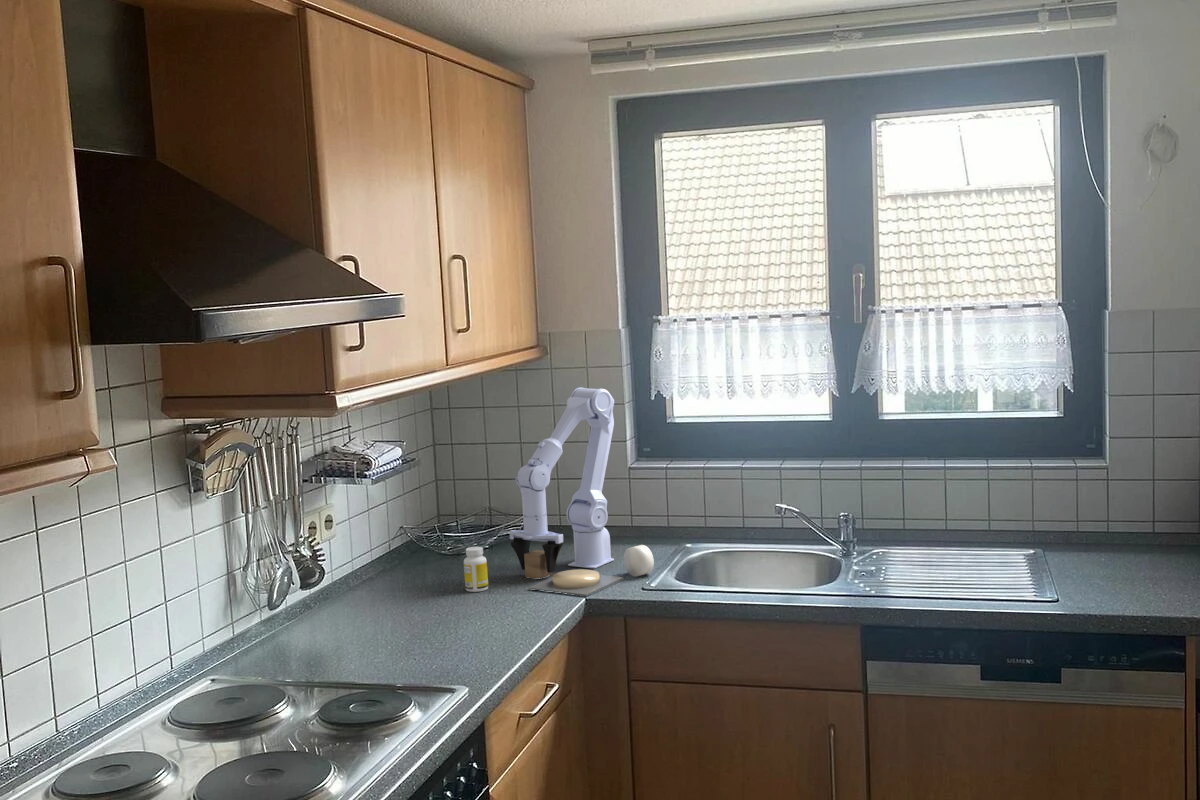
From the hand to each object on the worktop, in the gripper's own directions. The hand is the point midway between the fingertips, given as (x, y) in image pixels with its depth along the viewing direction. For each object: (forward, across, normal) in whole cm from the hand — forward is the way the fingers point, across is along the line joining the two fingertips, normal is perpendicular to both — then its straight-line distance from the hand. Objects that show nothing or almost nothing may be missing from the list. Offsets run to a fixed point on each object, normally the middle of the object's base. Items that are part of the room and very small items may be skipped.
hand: (538, 570), depth 284 cm
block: (+2, 0, 0) cm, 2 cm away
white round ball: (-2, +22, +9) cm, 23 cm away
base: (+2, +13, -3) cm, 13 cm away
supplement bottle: (+2, -7, -15) cm, 17 cm away
